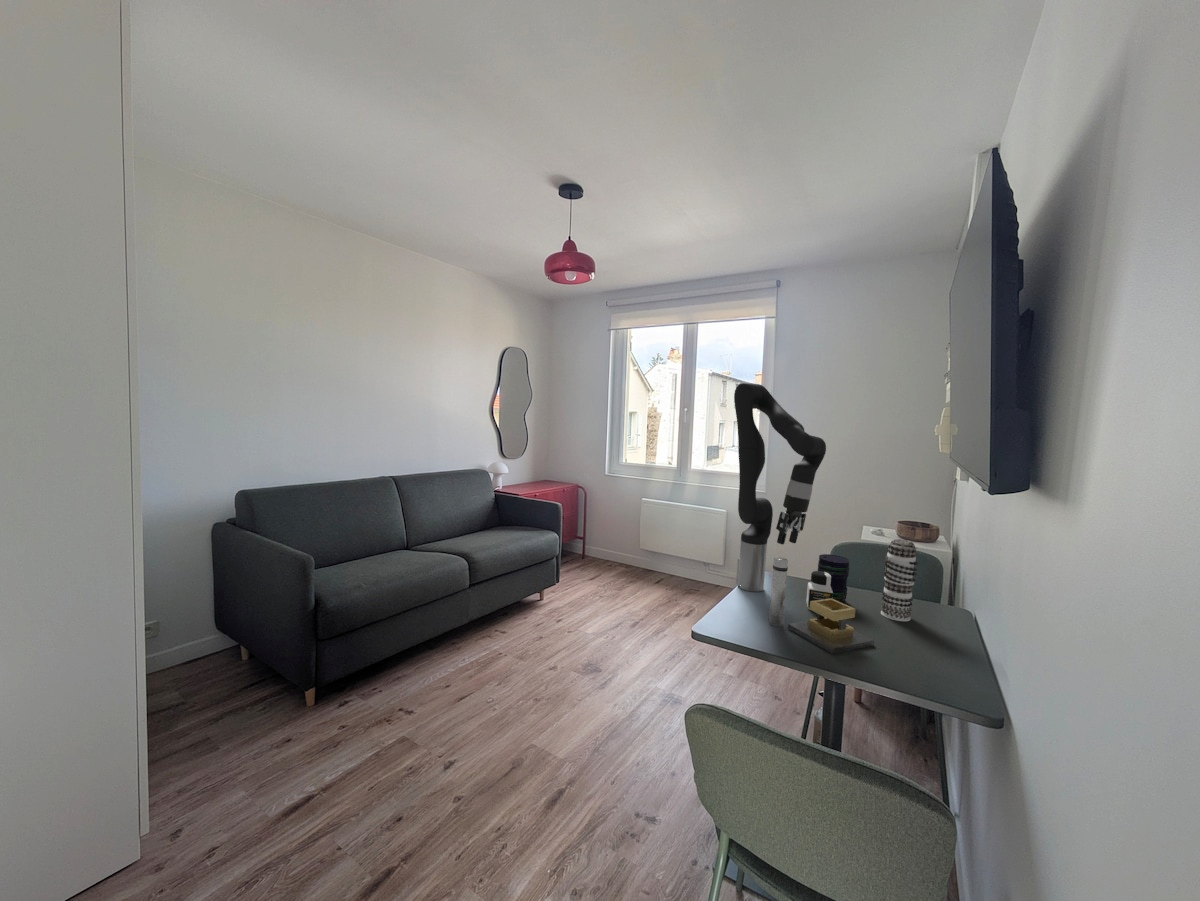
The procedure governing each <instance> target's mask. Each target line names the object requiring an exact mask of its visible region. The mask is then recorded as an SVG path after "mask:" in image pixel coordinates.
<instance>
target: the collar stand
mask: <svg viewBox="0 0 1200 901" xmlns="http://www.w3.org/2000/svg"><path fill="white" fill-rule="evenodd" d="M829 608H832V609H829ZM809 610H810V611H812V612H814V613H816V618H809V619H808V620H803V621H796V622H793V623H792V622H791V623H788V624H787V625H788V626H787V629H788V630H789V631H791V632H792V633H795V634H796V635H798V636H801V637H802V638H804V639H805V640H807V641H809V642H811V643H813V644H814V645H816V646H817V647H820V649H823V650H824V651H826V652H828V653H830V654H832V655H833V654H838V653H843V652H848V651H853V650H858V649H864V648H868V647H872V646H873V647H874V646H875V639H873V638H870V637H869V636H867V635H865V634H862V633H860V632H858V631H856V630H855V627H854V626H852V625H849V624H847V620H848V619H854V618H856V608H855V607H853V606H849V605H847V604H843V603H841V602H839V601H836V600H834V599H832V598H829V599H822V600H815V601H810V609H809Z"/></svg>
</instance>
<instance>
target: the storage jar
mask: <svg viewBox="0 0 1200 901" xmlns="http://www.w3.org/2000/svg"><path fill="white" fill-rule="evenodd" d="M817 571H823V572H826V573H828V574H830V575H831V584H830V586H831V589H832V591H833V598H832V599H834V600H836V601H839V602H841V603H843V604H845V605H847V604H846V603H847V595H848V587H847V583H848V577H849V574H850V573H849V572H850V559H849V558H846V557H844V556H841V555H835V554H825V553H824V554H819V556H818V563H817Z"/></svg>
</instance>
